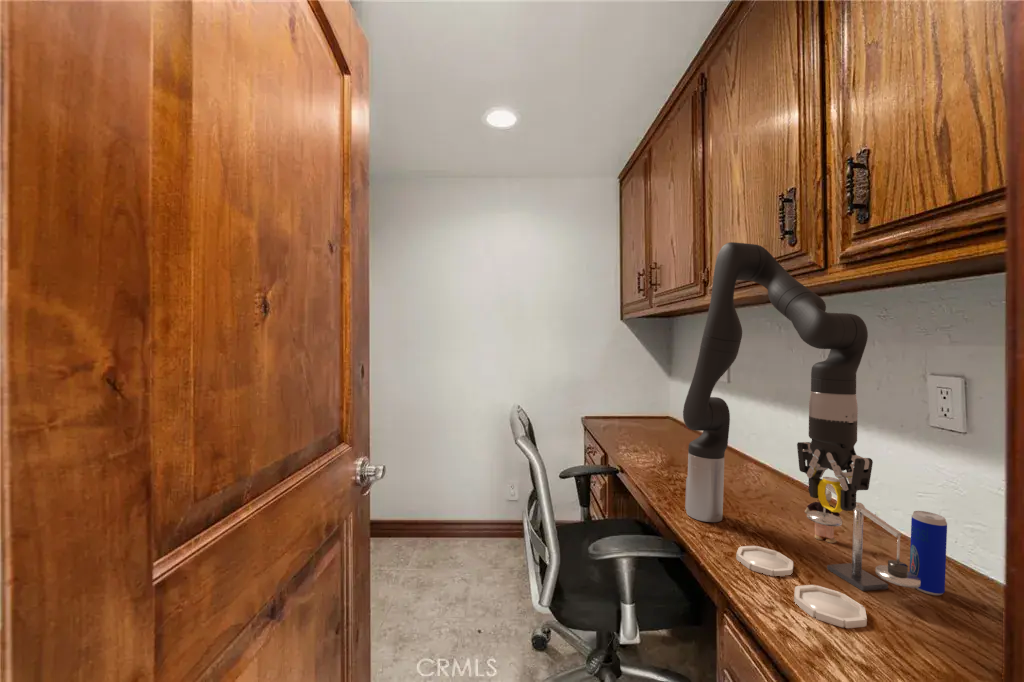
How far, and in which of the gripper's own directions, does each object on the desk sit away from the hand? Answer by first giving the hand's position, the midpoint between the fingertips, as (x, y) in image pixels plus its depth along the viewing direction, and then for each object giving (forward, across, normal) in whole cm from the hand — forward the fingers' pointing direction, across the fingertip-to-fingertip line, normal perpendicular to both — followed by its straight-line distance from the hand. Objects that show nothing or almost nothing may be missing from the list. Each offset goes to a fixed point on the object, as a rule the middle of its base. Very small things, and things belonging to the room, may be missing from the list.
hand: (831, 503), depth 83 cm
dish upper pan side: (+18, -14, -3) cm, 23 cm away
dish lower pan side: (+18, +2, -3) cm, 19 cm away
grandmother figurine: (+18, -22, +22) cm, 36 cm away
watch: (+1, 0, 0) cm, 1 cm away
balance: (+18, -5, +12) cm, 23 cm away
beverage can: (+19, 0, +23) cm, 30 cm away
